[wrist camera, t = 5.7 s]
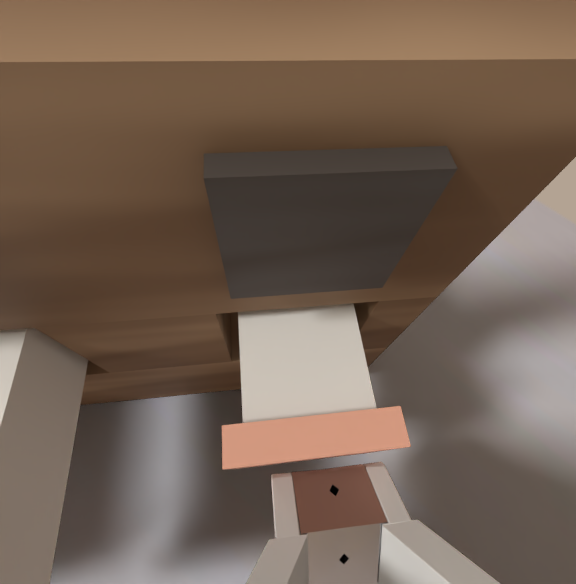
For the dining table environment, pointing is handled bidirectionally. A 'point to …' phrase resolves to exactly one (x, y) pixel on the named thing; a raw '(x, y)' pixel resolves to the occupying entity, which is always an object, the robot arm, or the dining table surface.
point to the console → (261, 166)
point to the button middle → (35, 448)
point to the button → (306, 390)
